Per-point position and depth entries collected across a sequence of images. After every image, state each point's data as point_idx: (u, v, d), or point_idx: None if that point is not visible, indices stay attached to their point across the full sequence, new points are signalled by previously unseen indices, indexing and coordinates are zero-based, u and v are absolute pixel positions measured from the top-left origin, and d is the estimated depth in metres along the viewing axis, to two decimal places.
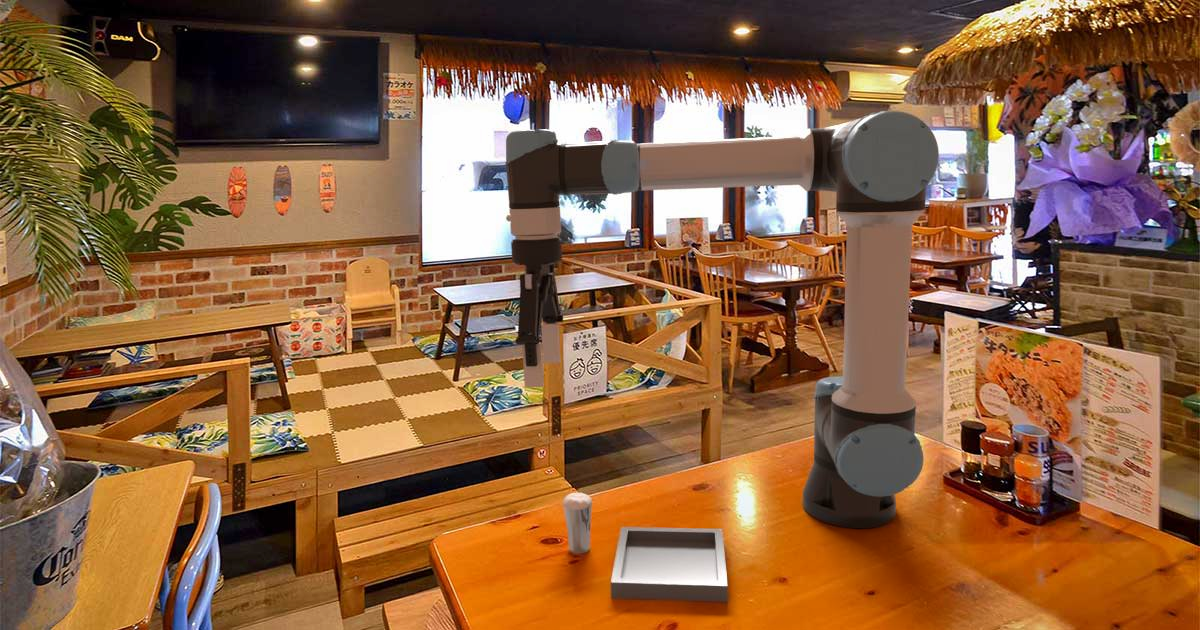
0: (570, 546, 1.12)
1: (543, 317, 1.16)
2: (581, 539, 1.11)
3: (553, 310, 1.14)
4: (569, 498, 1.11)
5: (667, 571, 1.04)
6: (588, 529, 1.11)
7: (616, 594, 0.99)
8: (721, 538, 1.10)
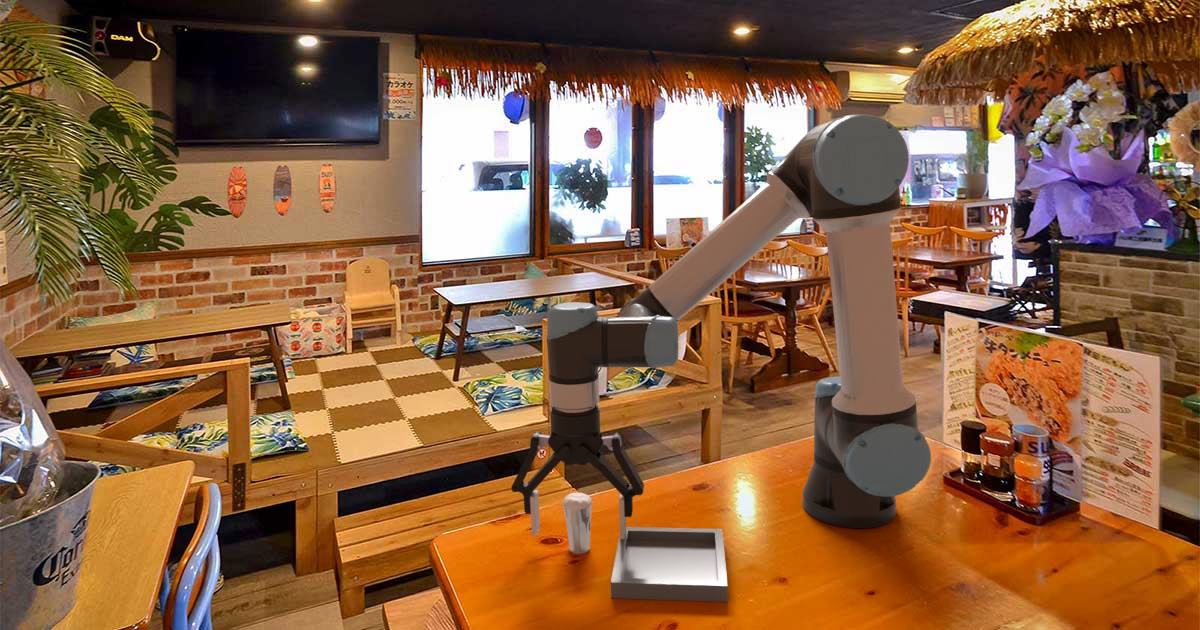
0: (570, 546, 1.12)
1: None
2: (581, 539, 1.11)
3: (612, 483, 1.09)
4: (569, 498, 1.11)
5: (667, 571, 1.04)
6: (588, 529, 1.11)
7: (616, 594, 0.99)
8: (721, 538, 1.10)
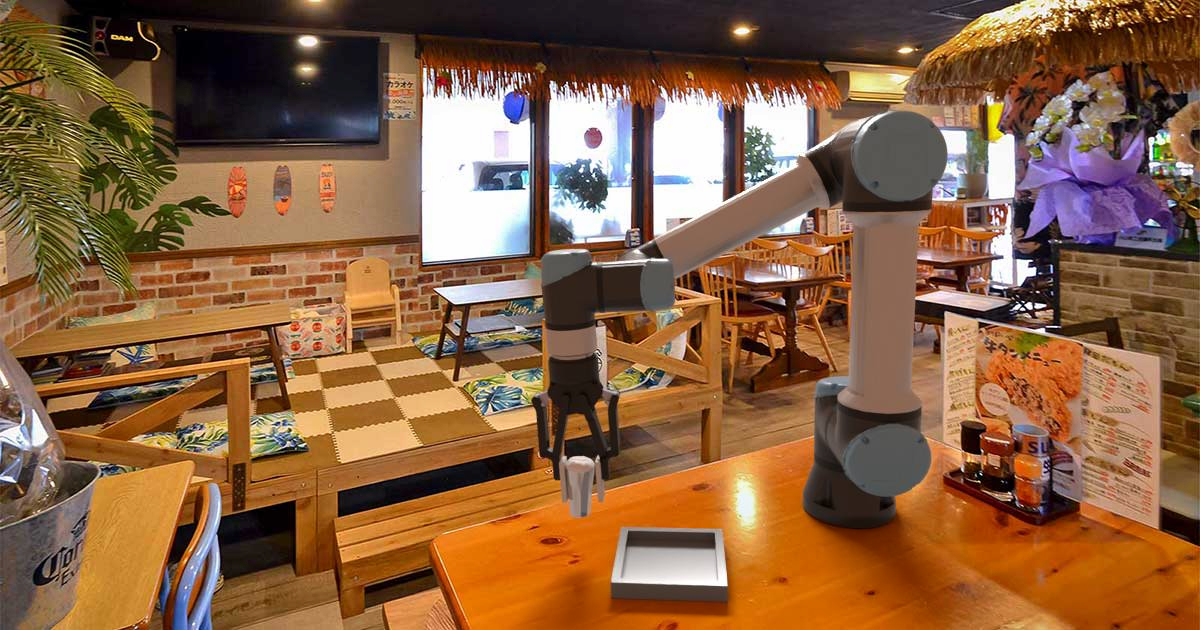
0: (570, 509, 1.11)
1: None
2: (582, 503, 1.10)
3: (594, 441, 1.08)
4: (572, 461, 1.09)
5: (667, 571, 1.04)
6: (589, 493, 1.10)
7: (616, 594, 0.99)
8: (721, 538, 1.10)
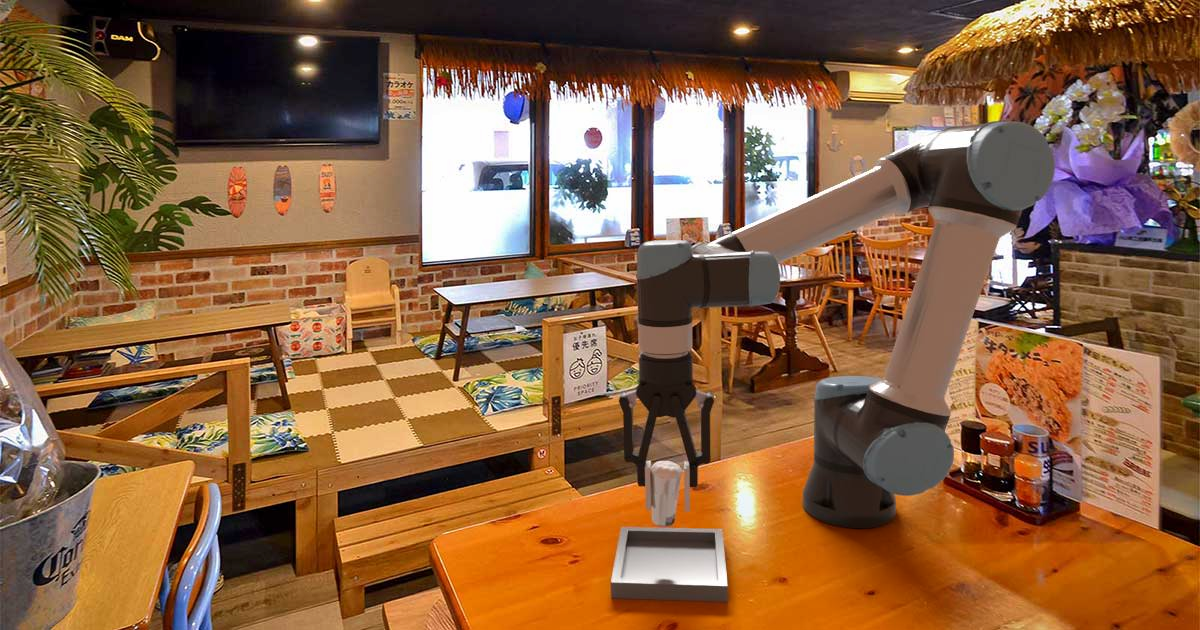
0: (654, 517, 1.04)
1: None
2: (668, 511, 1.03)
3: (684, 445, 1.01)
4: (658, 466, 1.03)
5: (667, 571, 1.04)
6: (675, 501, 1.03)
7: (616, 594, 0.99)
8: (721, 538, 1.10)
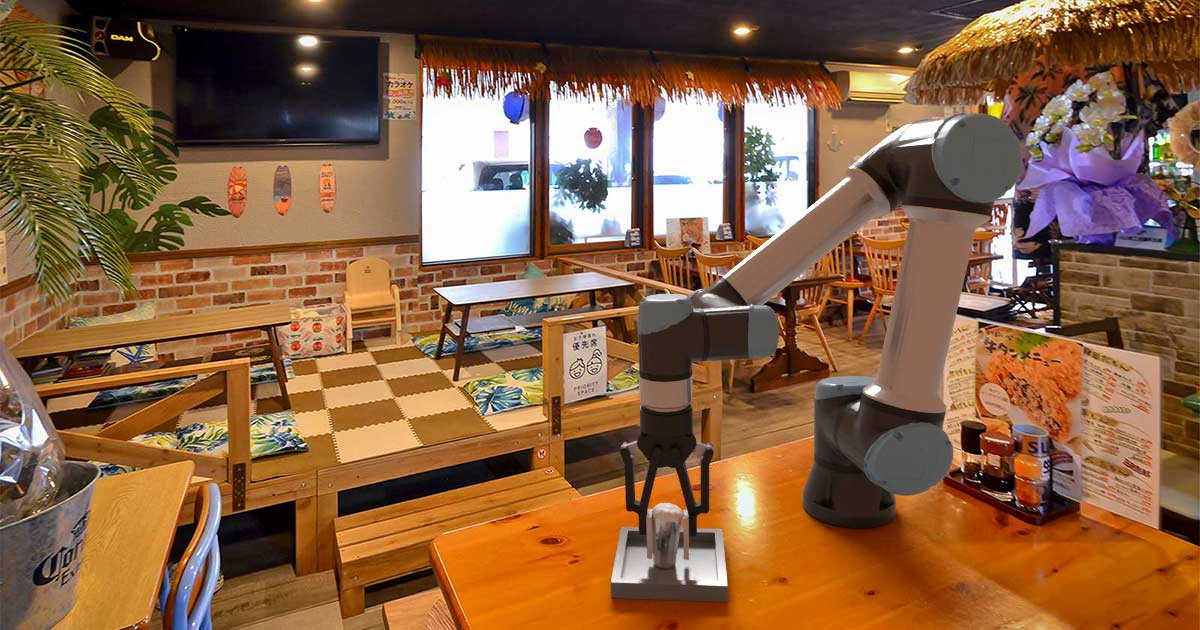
0: (655, 559, 1.05)
1: None
2: (669, 553, 1.04)
3: (683, 495, 1.03)
4: (660, 508, 1.04)
5: (667, 571, 1.04)
6: (676, 543, 1.05)
7: (616, 594, 0.99)
8: (721, 538, 1.10)
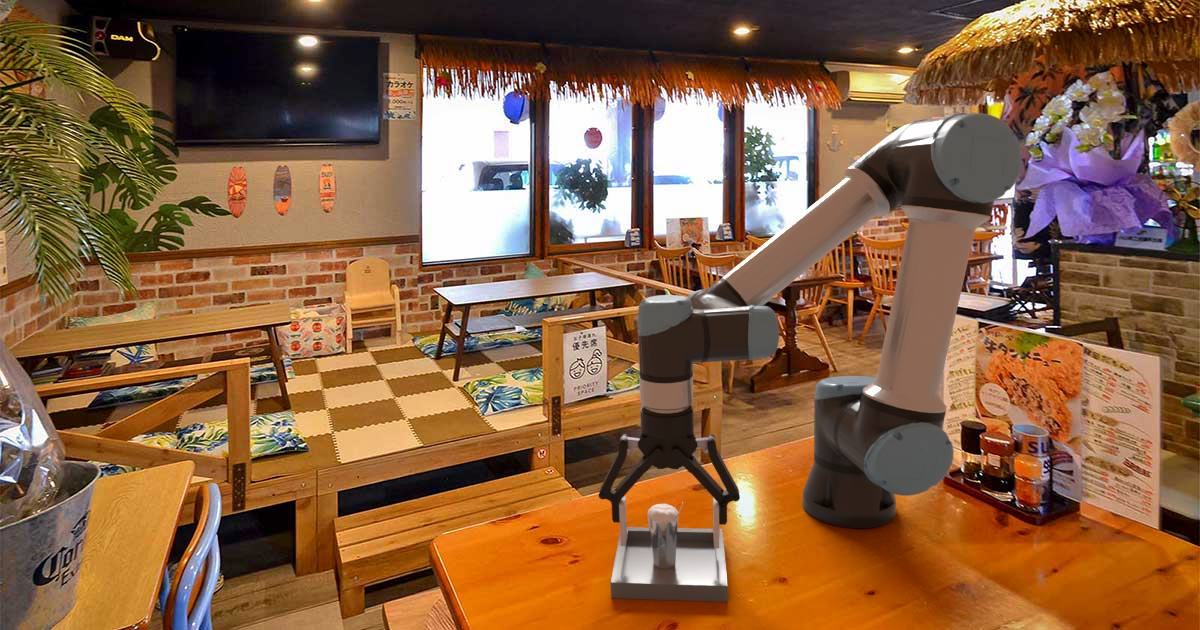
0: (655, 561, 1.05)
1: None
2: (667, 553, 1.04)
3: (706, 489, 1.02)
4: (655, 510, 1.04)
5: (667, 571, 1.04)
6: (674, 543, 1.05)
7: (616, 594, 0.99)
8: (721, 538, 1.10)
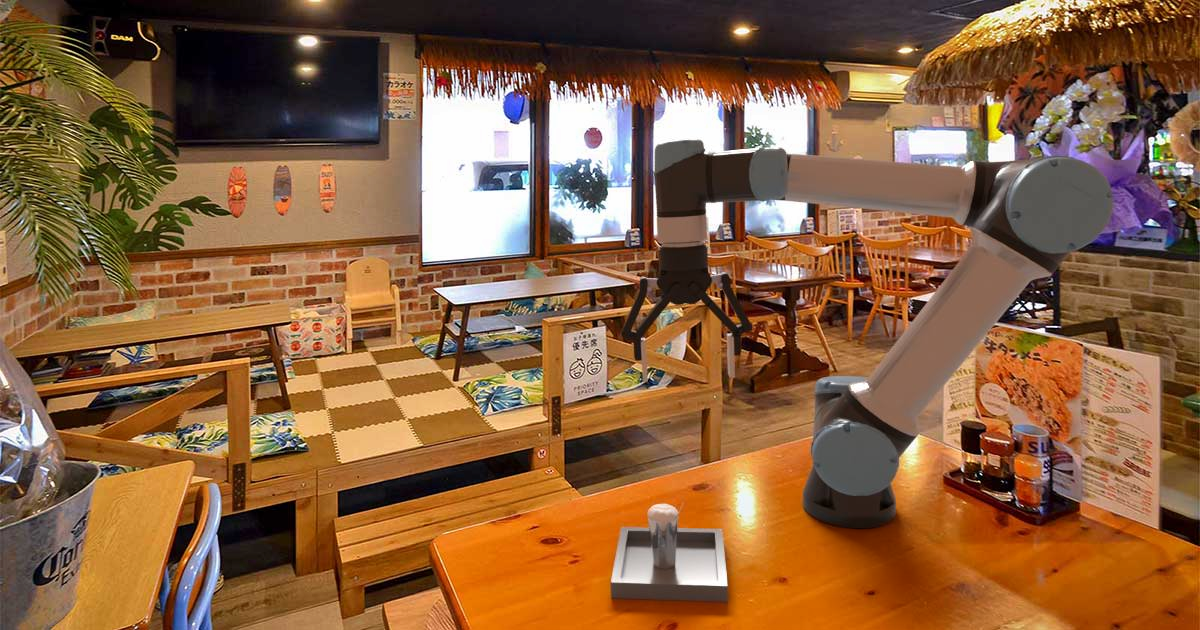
0: (655, 561, 1.05)
1: None
2: (667, 553, 1.04)
3: (721, 321, 1.10)
4: (655, 510, 1.04)
5: (667, 571, 1.04)
6: (674, 543, 1.05)
7: (616, 594, 0.99)
8: (721, 538, 1.10)
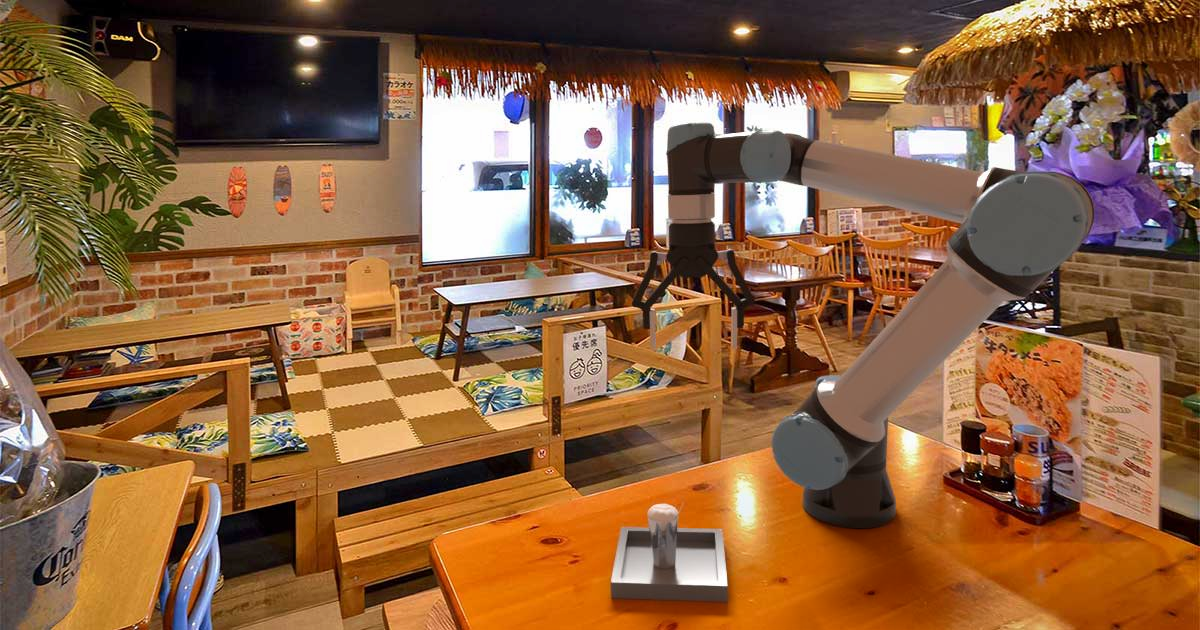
0: (655, 561, 1.05)
1: None
2: (667, 553, 1.04)
3: (726, 295, 1.17)
4: (655, 510, 1.04)
5: (667, 571, 1.04)
6: (674, 543, 1.05)
7: (616, 594, 0.99)
8: (721, 538, 1.10)
